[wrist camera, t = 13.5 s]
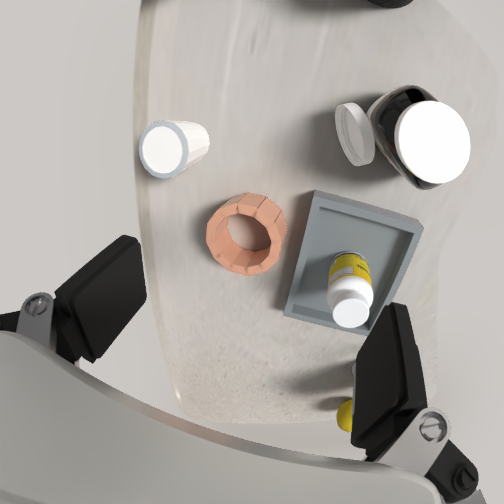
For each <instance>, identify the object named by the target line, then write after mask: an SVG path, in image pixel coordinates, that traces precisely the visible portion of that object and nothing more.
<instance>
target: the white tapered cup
mask: <svg viewBox="0 0 504 504" xmlns="http://www.w3.org/2000/svg"><path fill="white" fill-rule="evenodd" d="M208 148H209V136H208V134H207V132H206V130H205V129H204V128H203V127H202V126H201V125H200V124H197V123H194V122H186V121H170V120H162V121H157V122H153V123H152V124H151V125H149V126H148V127H147V128H146V129H145V130H144V132H143V134H142V135H141V137H140V142H139V156H140V160H141V162H142V164H143V166H144V168H145V169H146V170H147V171H148V172H149V173H150V174H151V175H153V176H155V177H158V178H161V179H165V178H172V177H174V176H175V175H177V174H179V173H180V172H182V171H184V170H185V169H187V168H188V167H190V166H191V165H193V164H194V163H196V162H198V161H199V160H201V159H202V158H203V157H204V156H205V155H206V153H207V152H208Z"/></svg>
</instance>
